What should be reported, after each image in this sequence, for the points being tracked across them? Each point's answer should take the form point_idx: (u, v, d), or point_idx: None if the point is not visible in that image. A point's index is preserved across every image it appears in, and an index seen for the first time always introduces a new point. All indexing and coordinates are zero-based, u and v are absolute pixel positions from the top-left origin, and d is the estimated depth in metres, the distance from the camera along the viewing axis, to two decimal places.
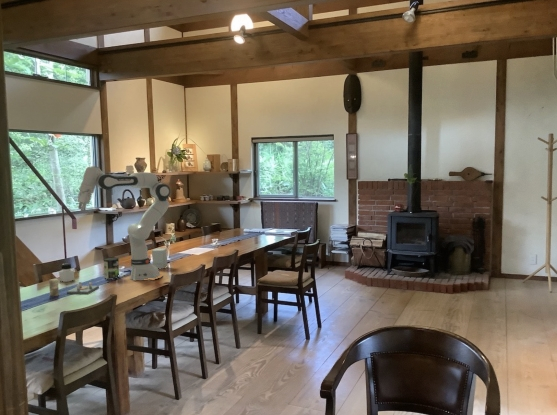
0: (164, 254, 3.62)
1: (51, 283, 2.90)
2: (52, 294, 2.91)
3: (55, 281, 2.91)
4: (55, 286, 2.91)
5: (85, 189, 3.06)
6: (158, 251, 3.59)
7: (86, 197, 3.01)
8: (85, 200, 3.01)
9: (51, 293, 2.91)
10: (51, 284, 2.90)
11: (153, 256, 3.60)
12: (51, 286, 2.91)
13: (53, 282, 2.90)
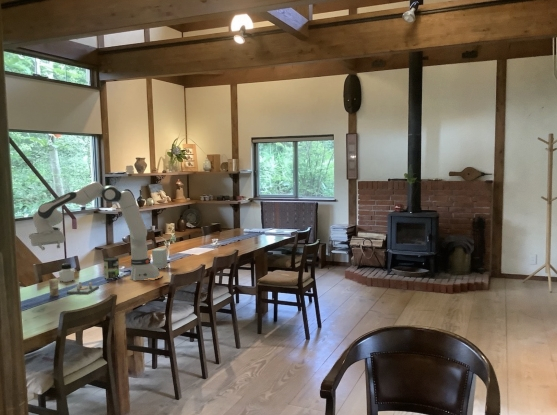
0: (164, 254, 3.62)
1: (51, 283, 2.90)
2: (52, 294, 2.91)
3: (55, 281, 2.91)
4: (55, 286, 2.91)
5: None
6: (158, 251, 3.59)
7: (31, 241, 3.00)
8: (31, 243, 3.00)
9: (51, 293, 2.91)
10: (51, 284, 2.90)
11: (153, 256, 3.60)
12: (51, 286, 2.91)
13: (53, 282, 2.90)
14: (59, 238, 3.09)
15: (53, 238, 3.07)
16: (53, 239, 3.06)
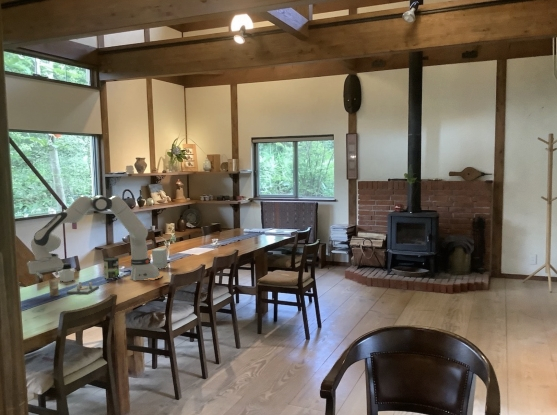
0: (164, 254, 3.62)
1: (51, 283, 2.90)
2: (52, 294, 2.91)
3: (55, 281, 2.91)
4: (55, 286, 2.91)
5: None
6: (158, 251, 3.59)
7: None
8: (29, 271, 2.94)
9: (51, 293, 2.91)
10: (51, 284, 2.90)
11: (153, 256, 3.60)
12: (51, 286, 2.91)
13: (53, 282, 2.90)
14: (57, 265, 3.04)
15: (51, 265, 3.01)
16: (51, 266, 3.01)
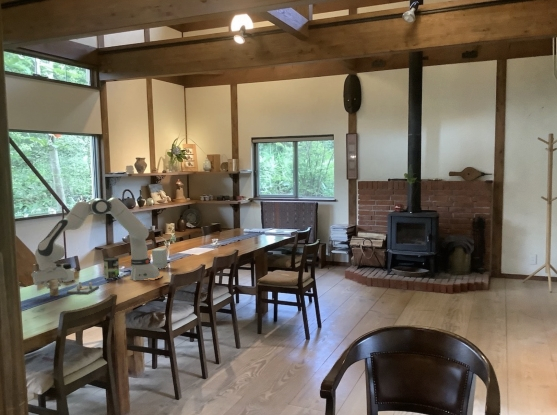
0: (164, 254, 3.62)
1: (51, 283, 2.90)
2: (52, 294, 2.91)
3: (55, 281, 2.91)
4: (55, 286, 2.91)
5: None
6: (158, 251, 3.59)
7: (33, 279, 2.90)
8: None
9: (51, 293, 2.91)
10: (51, 284, 2.90)
11: (153, 256, 3.60)
12: (51, 286, 2.91)
13: (53, 282, 2.90)
14: (62, 275, 2.99)
15: (56, 275, 2.97)
16: (56, 277, 2.96)
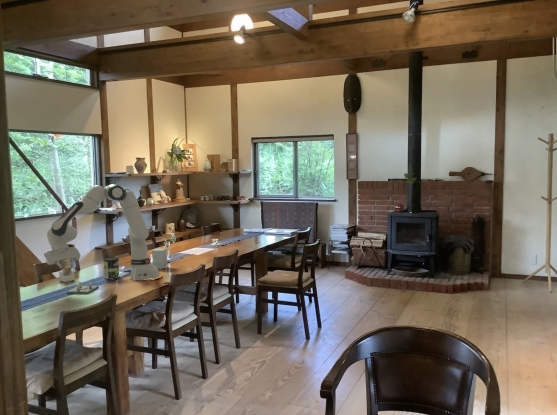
0: (164, 254, 3.62)
1: (64, 262, 2.94)
2: (65, 273, 2.94)
3: (68, 260, 2.94)
4: (68, 265, 2.95)
5: None
6: (158, 251, 3.59)
7: (46, 259, 2.93)
8: (47, 262, 2.92)
9: (64, 272, 2.94)
10: (64, 263, 2.94)
11: (153, 256, 3.60)
12: (64, 265, 2.94)
13: (66, 261, 2.94)
14: (74, 255, 3.02)
15: (68, 255, 3.00)
16: (68, 256, 2.99)
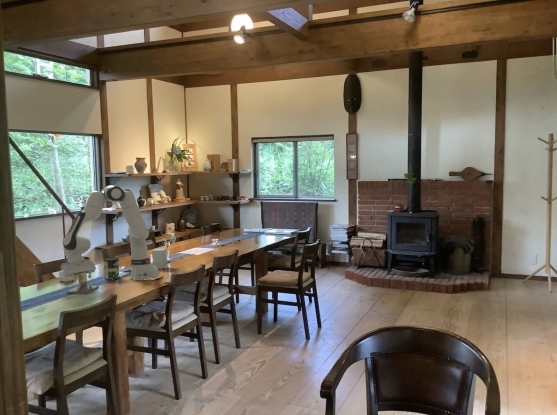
0: (164, 254, 3.62)
1: (80, 276, 3.00)
2: (81, 287, 3.00)
3: (84, 274, 3.00)
4: (84, 279, 3.01)
5: None
6: (158, 251, 3.59)
7: None
8: (63, 274, 2.98)
9: (80, 286, 3.00)
10: (80, 277, 3.00)
11: (153, 256, 3.60)
12: (80, 279, 3.00)
13: (82, 275, 3.00)
14: (90, 268, 3.08)
15: (84, 268, 3.06)
16: (84, 269, 3.05)
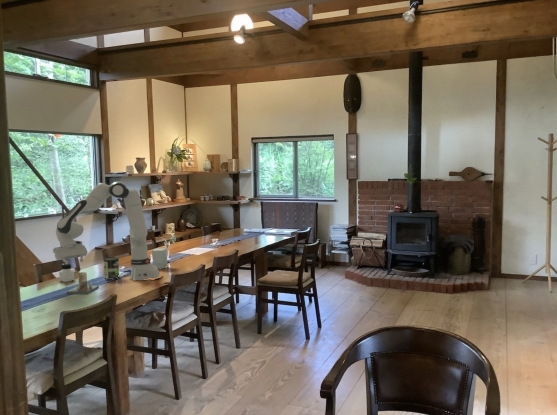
0: (164, 254, 3.62)
1: (80, 276, 3.00)
2: (81, 287, 3.00)
3: (84, 274, 3.00)
4: (84, 279, 3.01)
5: None
6: (158, 251, 3.59)
7: (55, 255, 3.07)
8: (55, 257, 3.06)
9: (80, 286, 3.00)
10: (80, 277, 3.00)
11: (153, 256, 3.60)
12: (80, 279, 3.00)
13: (82, 275, 3.00)
14: (82, 251, 3.16)
15: (76, 251, 3.13)
16: (76, 253, 3.13)
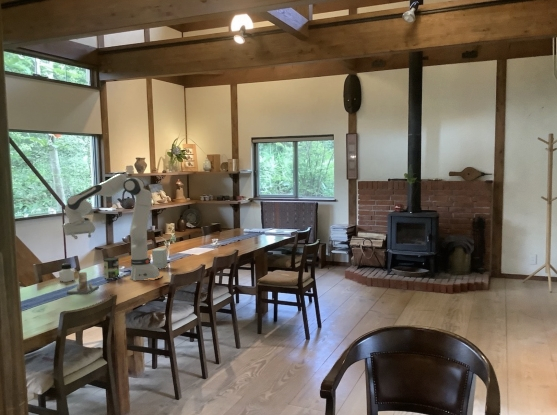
0: (164, 254, 3.62)
1: (80, 276, 3.00)
2: (81, 287, 3.00)
3: (84, 274, 3.00)
4: (84, 279, 3.01)
5: None
6: (158, 251, 3.59)
7: (64, 230, 3.19)
8: (65, 233, 3.18)
9: (80, 286, 3.00)
10: (80, 277, 3.00)
11: (153, 256, 3.60)
12: (80, 279, 3.00)
13: (82, 275, 3.00)
14: (90, 228, 3.28)
15: (84, 227, 3.25)
16: (84, 229, 3.25)
